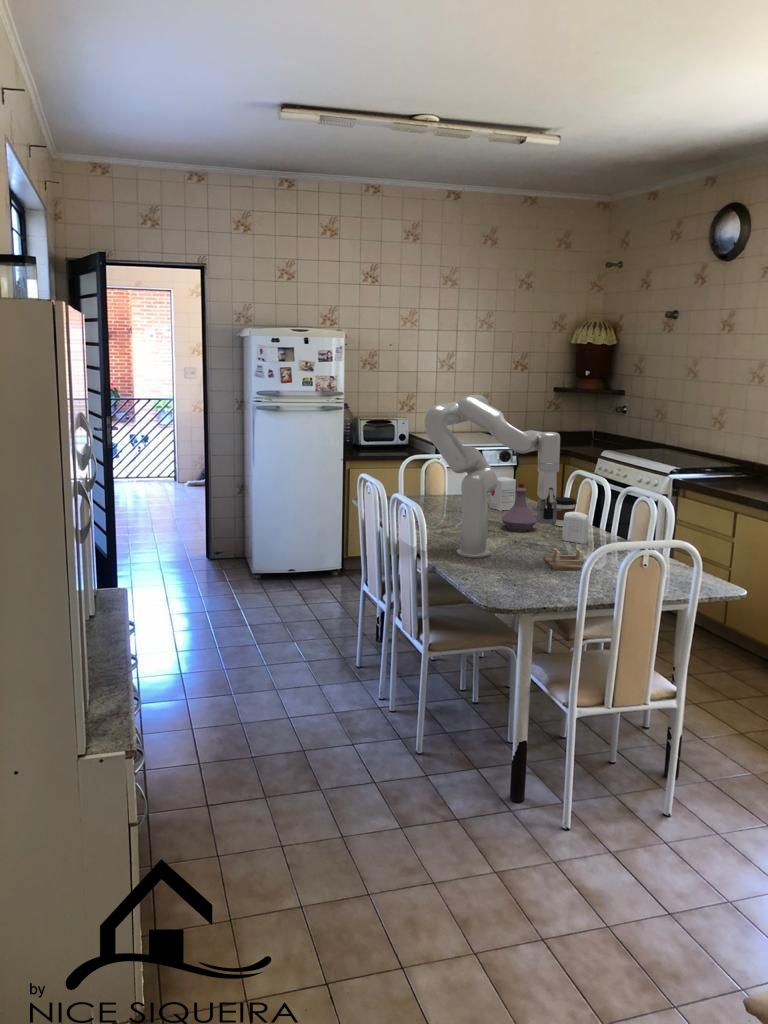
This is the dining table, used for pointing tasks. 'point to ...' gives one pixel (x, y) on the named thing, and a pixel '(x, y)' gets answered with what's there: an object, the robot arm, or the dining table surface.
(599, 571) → the dining table surface
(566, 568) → the dock
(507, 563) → the dining table surface
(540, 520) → the servo block
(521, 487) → the flask
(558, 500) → the coffee cup
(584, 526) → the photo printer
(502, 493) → the supplement box
